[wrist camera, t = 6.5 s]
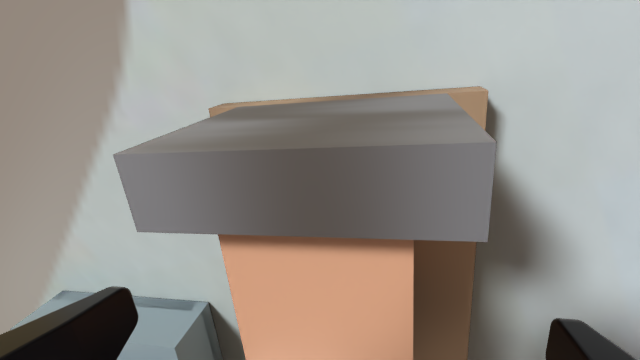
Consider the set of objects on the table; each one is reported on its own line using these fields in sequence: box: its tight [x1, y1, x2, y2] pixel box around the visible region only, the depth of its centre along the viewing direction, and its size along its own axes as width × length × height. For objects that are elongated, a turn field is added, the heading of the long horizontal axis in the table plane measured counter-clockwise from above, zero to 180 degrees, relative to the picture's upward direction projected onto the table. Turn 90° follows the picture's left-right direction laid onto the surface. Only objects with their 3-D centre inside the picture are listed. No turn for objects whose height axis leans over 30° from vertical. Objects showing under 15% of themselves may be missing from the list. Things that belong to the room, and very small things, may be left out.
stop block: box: [218, 234, 414, 360], centre depth 9 cm, size 4×4×4 cm
